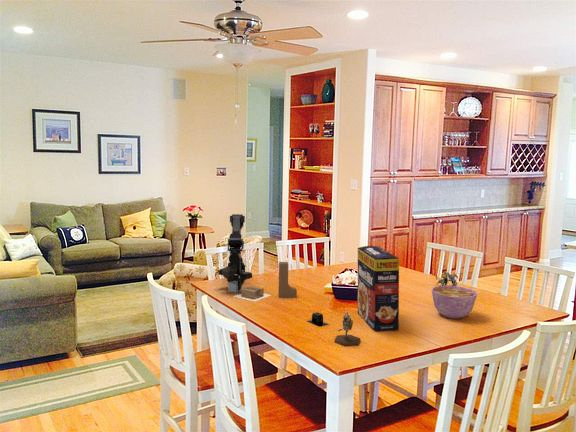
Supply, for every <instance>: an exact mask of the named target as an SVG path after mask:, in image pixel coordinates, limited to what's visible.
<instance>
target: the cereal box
mask: <svg viewBox="0 0 576 432" xmlns="http://www.w3.org/2000/svg"><path fill="white" fill-rule="evenodd" d="M399 298H400V258H399V257H397V256H396V255H394V254H392V253H391V252H389V251H387V250H386V249H383V248H382V247H380V246H376V245H365V246H360V247H358V248H357V313H358V314H359V316H360V317H361V318H362V319H363V320H364V321H365V322H366V323H367V324H368V326H369V327H370V328H371V329H372V330H373V331H374V332H396V331H399V330H400V328H399V326H400V325H399V324H400V323H399V322H400V320H399V316H400V315H399V314H400V313H399V312H400V310H399V309H400V308H399V307H400V299H399Z"/></svg>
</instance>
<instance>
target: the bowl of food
mask: <svg viewBox="0 0 576 432" xmlns="http://www.w3.org/2000/svg"><path fill="white" fill-rule="evenodd" d="M431 294H432V295H431V296H432V301H433V305H434V308H435V310H437V311H436V312H438V313H440V314H441V315H443V316H444V317H446V318H449V319H461V318H463V317H467V316H468V315H470V314H471V312H472V311H473V309H474V305H475V302H476V300H477V296H478V292H477V291H475V290H473V289H472V288H468V287H463V286H459V285H458V286H457V285H456V286H453V285H442V286H441V285H438V286H434V287H431Z"/></svg>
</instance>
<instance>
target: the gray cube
mask: <svg viewBox="0 0 576 432" xmlns="http://www.w3.org/2000/svg"><path fill="white" fill-rule="evenodd" d="M227 283H228V286H227V287H228V290H227V291H228V292H231V293H239V292H241V289H243V286H242V287H241V289H240V290H239V291H238V281H231V282H228V281H227Z"/></svg>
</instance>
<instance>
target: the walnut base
mask: <svg viewBox="0 0 576 432" xmlns="http://www.w3.org/2000/svg"><path fill="white" fill-rule="evenodd" d="M264 289H265V288H263V287H258V286H253V285H250V286H246V287H244V288H243V287H242V289H241V291H240V294H241V297H244V298H248V299H253V300H254V299H257V298H260V297H263V296H264V294H265V293H264Z"/></svg>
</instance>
